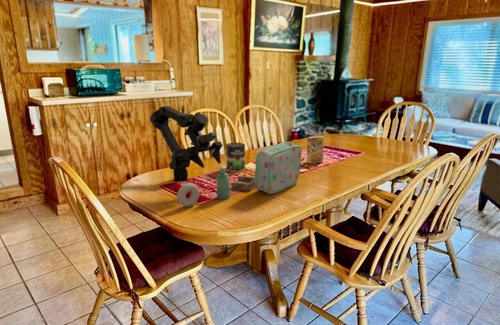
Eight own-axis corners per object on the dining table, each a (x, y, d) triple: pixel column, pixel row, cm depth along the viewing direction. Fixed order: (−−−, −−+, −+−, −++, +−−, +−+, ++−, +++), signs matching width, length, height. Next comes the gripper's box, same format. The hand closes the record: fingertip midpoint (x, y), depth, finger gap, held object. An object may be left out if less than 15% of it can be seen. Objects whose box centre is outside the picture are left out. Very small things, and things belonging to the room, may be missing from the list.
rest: (231, 188, 165) (231, 182, 165) (238, 181, 175) (238, 175, 174) (250, 190, 163) (250, 184, 162) (257, 183, 172) (257, 177, 172)
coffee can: (247, 171, 191) (247, 146, 187) (228, 172, 188) (228, 147, 185) (242, 166, 201) (242, 142, 197) (224, 167, 198) (224, 143, 194)
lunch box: (284, 178, 180) (286, 137, 174) (302, 182, 174) (304, 140, 168) (252, 192, 160) (252, 147, 154) (270, 198, 154) (271, 151, 148)
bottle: (217, 200, 152) (216, 169, 148) (216, 195, 157) (215, 165, 153) (230, 199, 153) (229, 168, 149) (228, 194, 158) (228, 164, 154)
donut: (197, 201, 150) (196, 179, 147) (201, 204, 148) (200, 181, 145) (176, 208, 144) (174, 185, 141) (180, 210, 141) (179, 187, 139)
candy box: (309, 163, 205) (310, 138, 201) (306, 161, 209) (307, 136, 205) (323, 162, 208) (324, 137, 203) (319, 160, 211) (321, 135, 207)
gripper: (185, 129, 149) (202, 159, 145) (219, 124, 162) (236, 151, 157) (176, 144, 157) (192, 173, 152) (209, 138, 169) (225, 164, 165)
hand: (212, 165), depth 156 cm, fingers open, 9 cm apart
